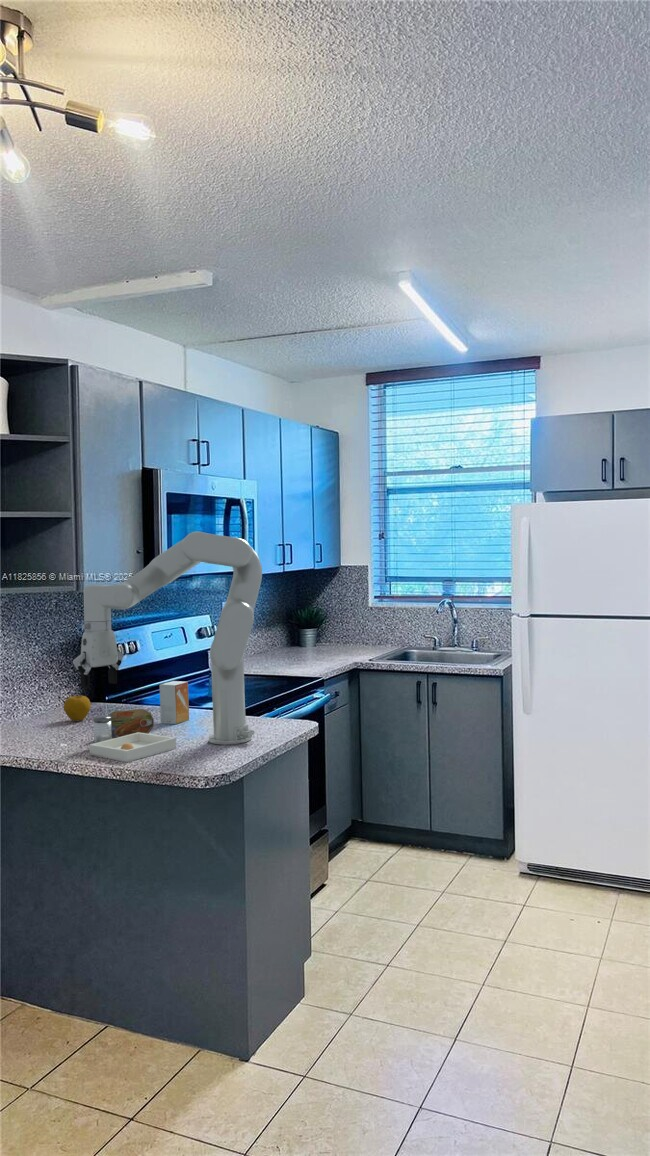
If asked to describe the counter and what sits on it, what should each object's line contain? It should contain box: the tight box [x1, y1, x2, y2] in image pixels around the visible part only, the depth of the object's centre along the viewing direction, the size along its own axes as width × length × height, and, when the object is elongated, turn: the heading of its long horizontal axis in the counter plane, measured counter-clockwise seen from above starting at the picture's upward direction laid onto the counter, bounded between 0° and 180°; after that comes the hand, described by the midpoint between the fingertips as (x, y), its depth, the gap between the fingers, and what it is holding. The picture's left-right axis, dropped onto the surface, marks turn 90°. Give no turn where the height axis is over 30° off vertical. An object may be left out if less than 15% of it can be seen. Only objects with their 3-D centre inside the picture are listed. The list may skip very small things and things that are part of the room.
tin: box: [108, 708, 155, 739], centre depth 260 cm, size 15×3×8 cm, turn 101°
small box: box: [159, 680, 190, 725], centre depth 280 cm, size 8×6×13 cm
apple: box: [63, 694, 92, 722], centre depth 287 cm, size 9×9×9 cm
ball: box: [121, 743, 134, 750], centre depth 232 cm, size 4×4×4 cm
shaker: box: [92, 714, 113, 744], centre depth 245 cm, size 5×5×9 cm
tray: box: [88, 732, 177, 763], centre depth 239 cm, size 16×18×3 cm
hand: (99, 685), depth 245 cm, fingers open, 9 cm apart
